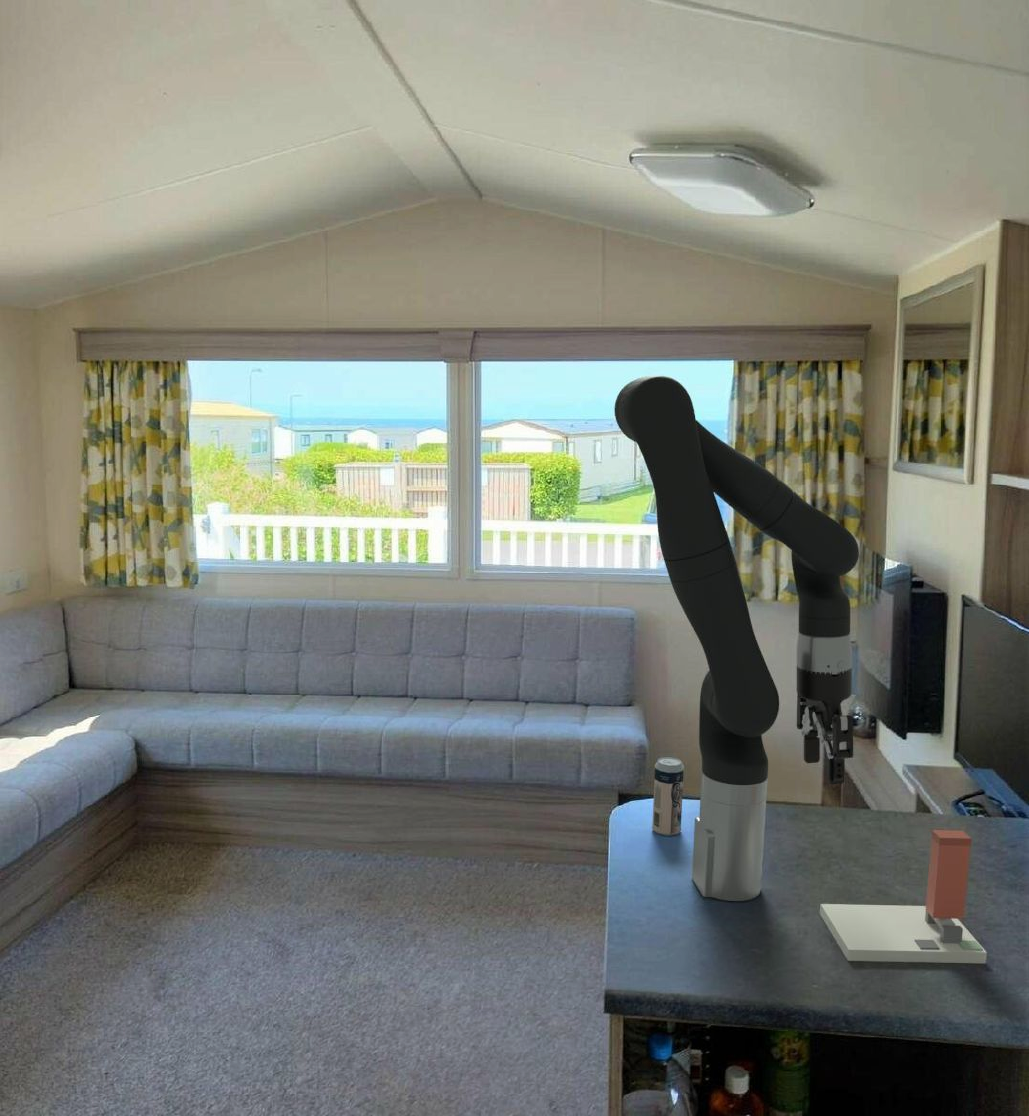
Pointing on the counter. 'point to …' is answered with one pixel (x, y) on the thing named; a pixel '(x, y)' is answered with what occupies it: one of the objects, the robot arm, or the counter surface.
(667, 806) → the beer can
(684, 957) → the counter surface
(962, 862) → the lever
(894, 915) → the breaker base
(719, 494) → the robot arm
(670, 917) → the counter surface
